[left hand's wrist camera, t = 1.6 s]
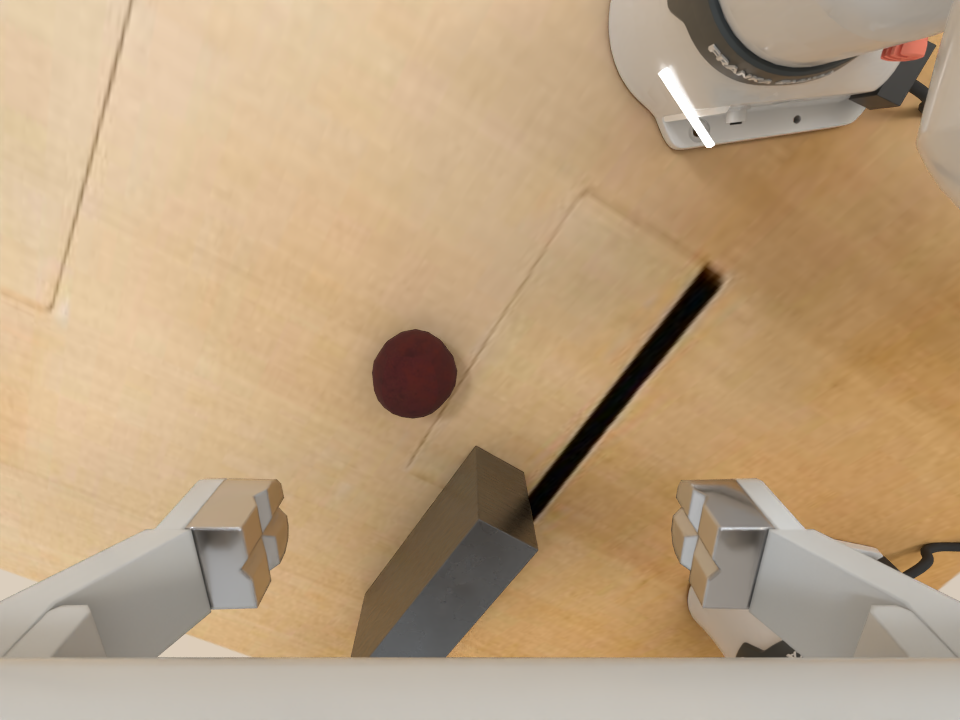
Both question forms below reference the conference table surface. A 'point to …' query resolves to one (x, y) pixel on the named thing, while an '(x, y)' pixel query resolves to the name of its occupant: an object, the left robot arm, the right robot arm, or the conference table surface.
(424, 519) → the box
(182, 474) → the conference table surface
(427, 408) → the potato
